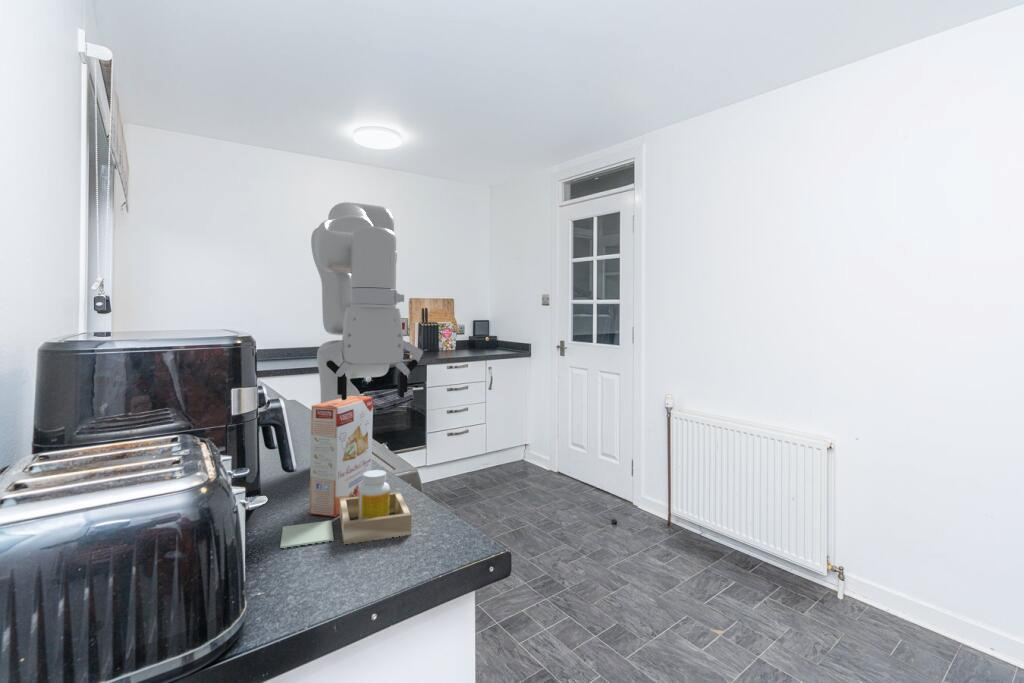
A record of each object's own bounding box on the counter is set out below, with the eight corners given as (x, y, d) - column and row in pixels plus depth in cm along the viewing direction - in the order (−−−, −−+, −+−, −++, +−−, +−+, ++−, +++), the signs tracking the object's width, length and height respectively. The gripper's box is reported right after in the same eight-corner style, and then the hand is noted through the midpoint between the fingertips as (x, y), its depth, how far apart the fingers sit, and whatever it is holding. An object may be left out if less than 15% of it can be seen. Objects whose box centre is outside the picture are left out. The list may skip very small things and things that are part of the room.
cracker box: (337, 518, 89) (338, 406, 88) (308, 515, 90) (308, 404, 90) (373, 492, 103) (374, 395, 102) (347, 490, 104) (348, 394, 103)
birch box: (339, 517, 90) (339, 498, 90) (399, 509, 94) (399, 491, 94) (343, 545, 79) (343, 524, 79) (411, 534, 83) (411, 514, 83)
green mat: (282, 528, 84) (282, 526, 84) (331, 522, 88) (331, 520, 87) (280, 549, 77) (280, 546, 77) (333, 541, 80) (333, 538, 80)
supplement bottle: (353, 525, 87) (353, 472, 86) (380, 517, 90) (380, 466, 90) (367, 535, 83) (368, 480, 82) (395, 526, 86) (395, 473, 86)
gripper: (419, 302, 91) (418, 393, 91) (320, 299, 84) (319, 396, 85) (427, 300, 84) (426, 399, 84) (320, 297, 77) (319, 403, 78)
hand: (372, 397), depth 84 cm, fingers open, 9 cm apart
